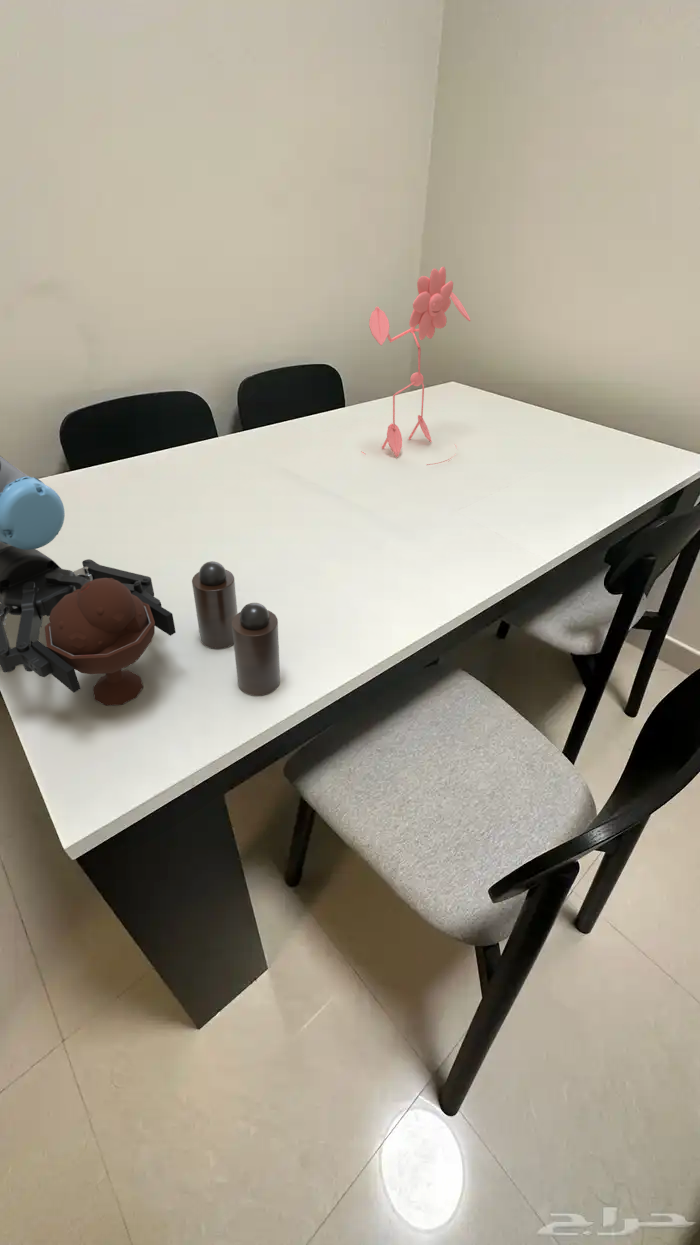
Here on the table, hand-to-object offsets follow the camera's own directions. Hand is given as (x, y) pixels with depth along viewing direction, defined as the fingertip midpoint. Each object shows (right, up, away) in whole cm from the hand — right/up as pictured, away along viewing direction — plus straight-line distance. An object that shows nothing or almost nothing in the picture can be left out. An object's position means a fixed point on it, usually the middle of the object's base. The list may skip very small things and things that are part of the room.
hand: (125, 651), depth 60 cm
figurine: (+38, +40, +68) cm, 88 cm away
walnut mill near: (+12, -4, +9) cm, 16 cm away
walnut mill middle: (+6, +1, +15) cm, 16 cm away
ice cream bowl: (-4, -5, +7) cm, 9 cm away
